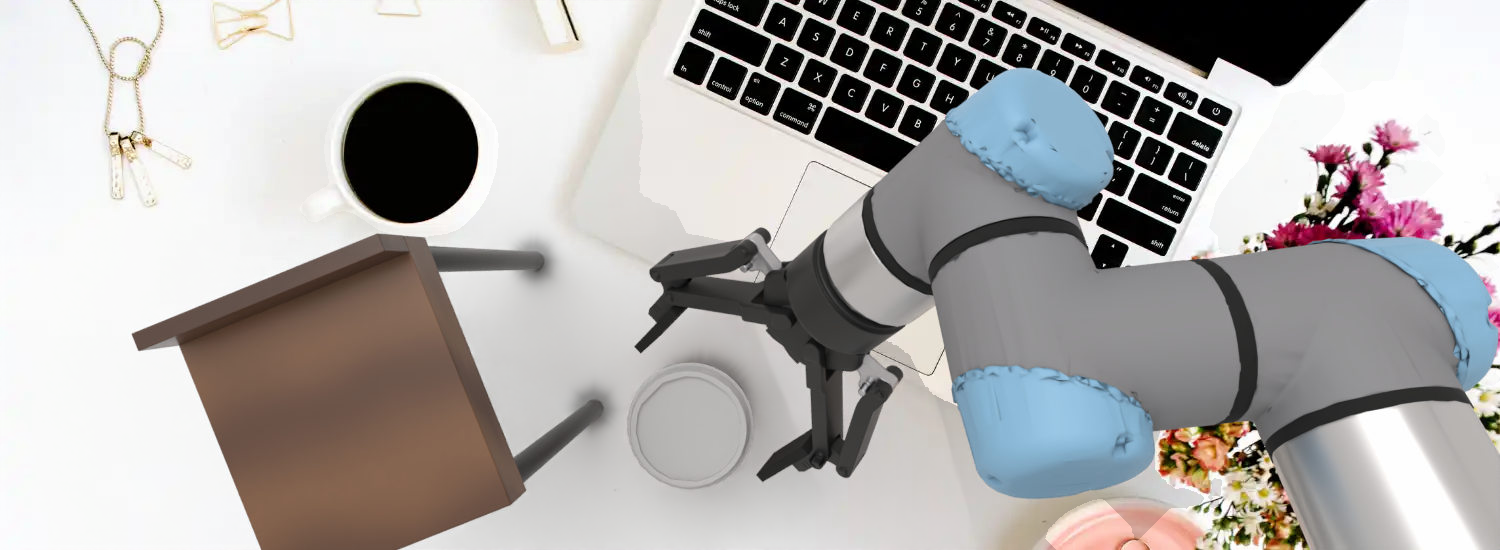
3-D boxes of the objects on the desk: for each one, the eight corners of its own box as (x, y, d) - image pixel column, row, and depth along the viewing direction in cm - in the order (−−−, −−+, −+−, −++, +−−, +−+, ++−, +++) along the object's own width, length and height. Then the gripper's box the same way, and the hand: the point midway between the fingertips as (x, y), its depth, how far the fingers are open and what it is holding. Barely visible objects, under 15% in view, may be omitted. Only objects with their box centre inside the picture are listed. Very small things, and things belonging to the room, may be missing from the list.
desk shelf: (527, 490, 50) (493, 521, 44) (308, 577, 50) (245, 619, 44) (425, 236, 50) (377, 232, 44) (207, 325, 50) (130, 333, 44)
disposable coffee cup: (739, 335, 74) (732, 349, 62) (769, 440, 74) (768, 474, 62) (635, 364, 75) (608, 384, 63) (664, 469, 75) (643, 508, 63)
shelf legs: (606, 413, 75) (522, 488, 50) (464, 470, 75) (310, 572, 50) (540, 248, 75) (423, 241, 50) (398, 306, 75) (211, 327, 50)
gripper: (1033, 388, 53) (840, 487, 69) (759, 100, 54) (628, 264, 69) (993, 466, 48) (794, 554, 64) (690, 147, 48) (565, 313, 64)
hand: (707, 404), depth 66 cm, fingers open, 13 cm apart
